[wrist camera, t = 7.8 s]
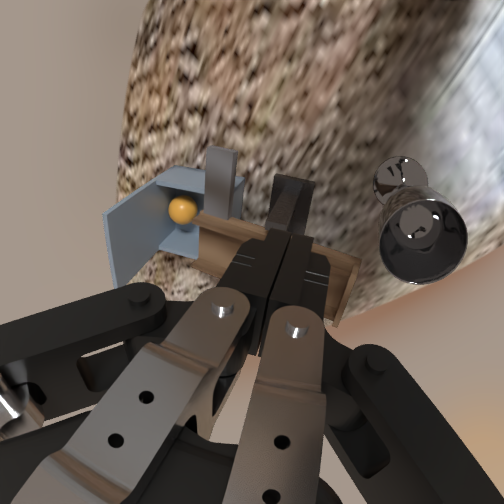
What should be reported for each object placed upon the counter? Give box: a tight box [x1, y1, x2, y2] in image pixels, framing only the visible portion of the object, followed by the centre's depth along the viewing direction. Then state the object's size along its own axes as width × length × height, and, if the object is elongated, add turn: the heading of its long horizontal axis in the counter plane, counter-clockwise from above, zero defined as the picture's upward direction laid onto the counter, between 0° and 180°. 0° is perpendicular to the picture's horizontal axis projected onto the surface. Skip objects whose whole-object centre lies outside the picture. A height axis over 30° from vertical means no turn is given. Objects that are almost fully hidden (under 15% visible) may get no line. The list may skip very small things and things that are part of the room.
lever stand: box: [265, 174, 315, 236], centre depth 39 cm, size 13×5×11 cm, turn 173°
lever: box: [192, 145, 362, 328], centre depth 32 cm, size 14×18×3 cm
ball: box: [168, 195, 198, 225], centre depth 43 cm, size 4×4×4 cm
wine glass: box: [373, 156, 468, 285], centre depth 30 cm, size 8×8×15 cm
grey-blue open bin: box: [102, 165, 245, 289], centre depth 38 cm, size 10×10×16 cm
